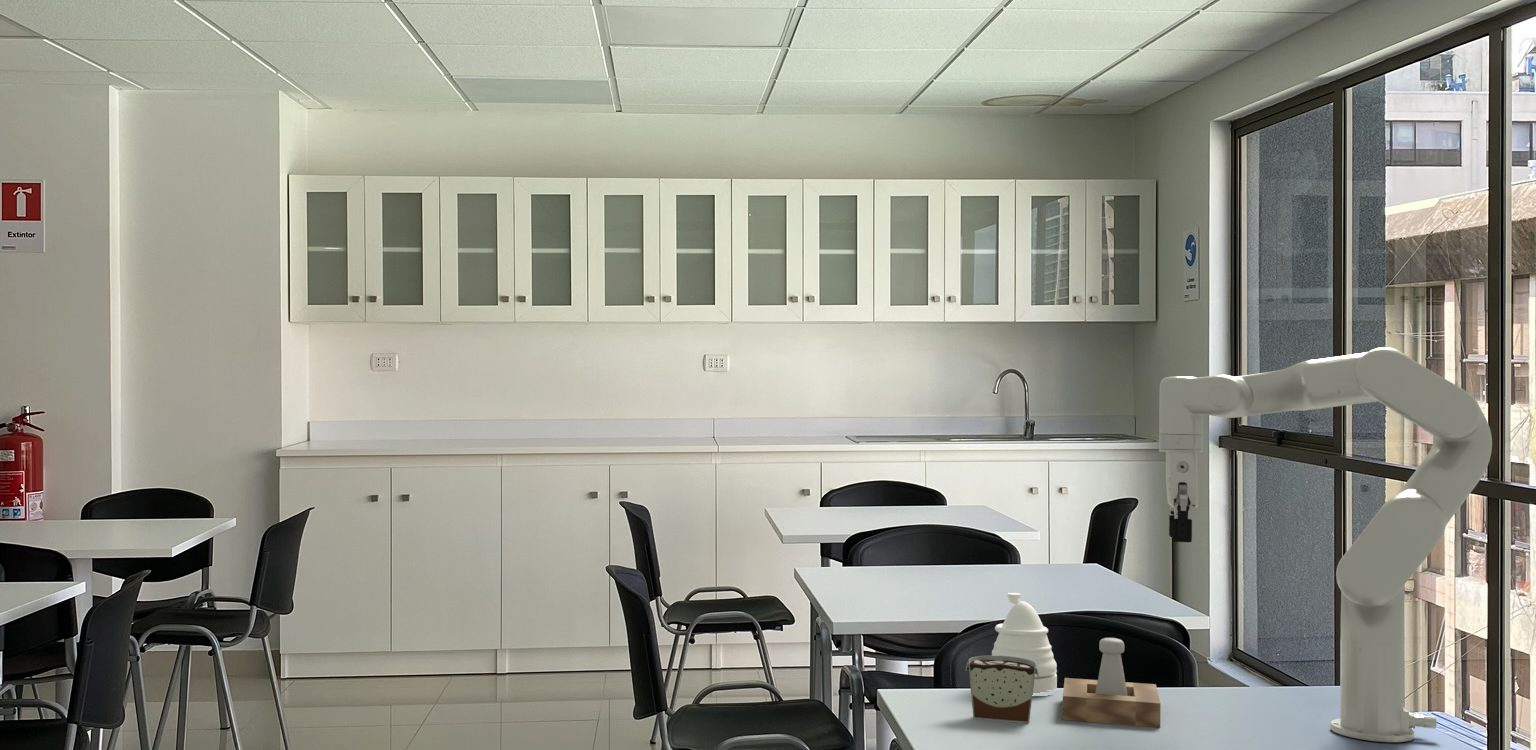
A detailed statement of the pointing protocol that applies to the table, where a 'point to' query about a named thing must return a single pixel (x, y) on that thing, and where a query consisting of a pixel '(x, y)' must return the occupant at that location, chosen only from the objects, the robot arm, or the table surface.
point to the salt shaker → (1111, 668)
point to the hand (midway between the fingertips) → (1180, 539)
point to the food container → (1001, 687)
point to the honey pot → (1027, 642)
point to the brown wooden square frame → (1111, 704)
